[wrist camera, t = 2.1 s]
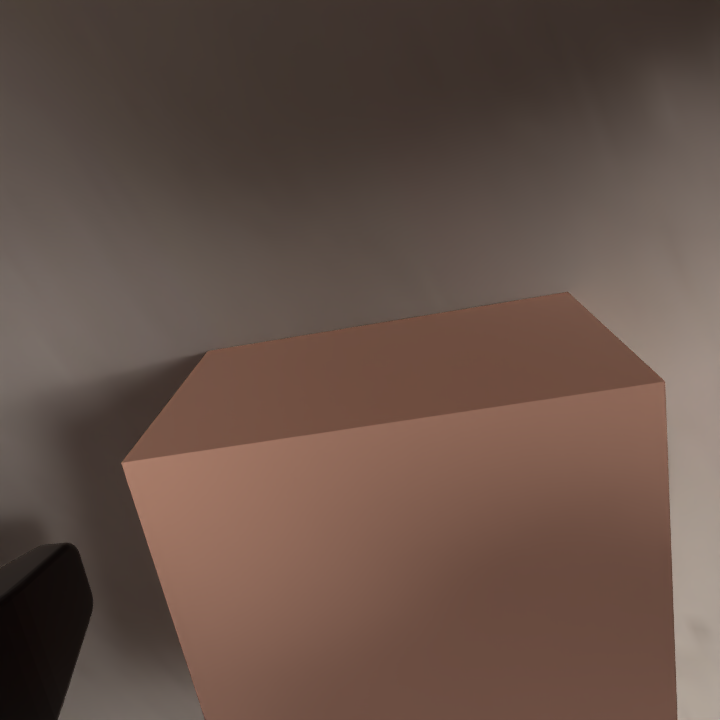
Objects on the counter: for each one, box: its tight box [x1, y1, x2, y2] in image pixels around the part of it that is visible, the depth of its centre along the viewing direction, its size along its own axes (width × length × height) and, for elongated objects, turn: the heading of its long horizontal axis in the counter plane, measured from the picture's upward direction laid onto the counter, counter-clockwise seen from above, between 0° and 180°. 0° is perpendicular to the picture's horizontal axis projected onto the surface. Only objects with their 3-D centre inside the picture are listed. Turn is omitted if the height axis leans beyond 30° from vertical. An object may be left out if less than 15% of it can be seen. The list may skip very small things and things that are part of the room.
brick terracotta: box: [121, 292, 677, 720], centre depth 9 cm, size 5×5×4 cm
